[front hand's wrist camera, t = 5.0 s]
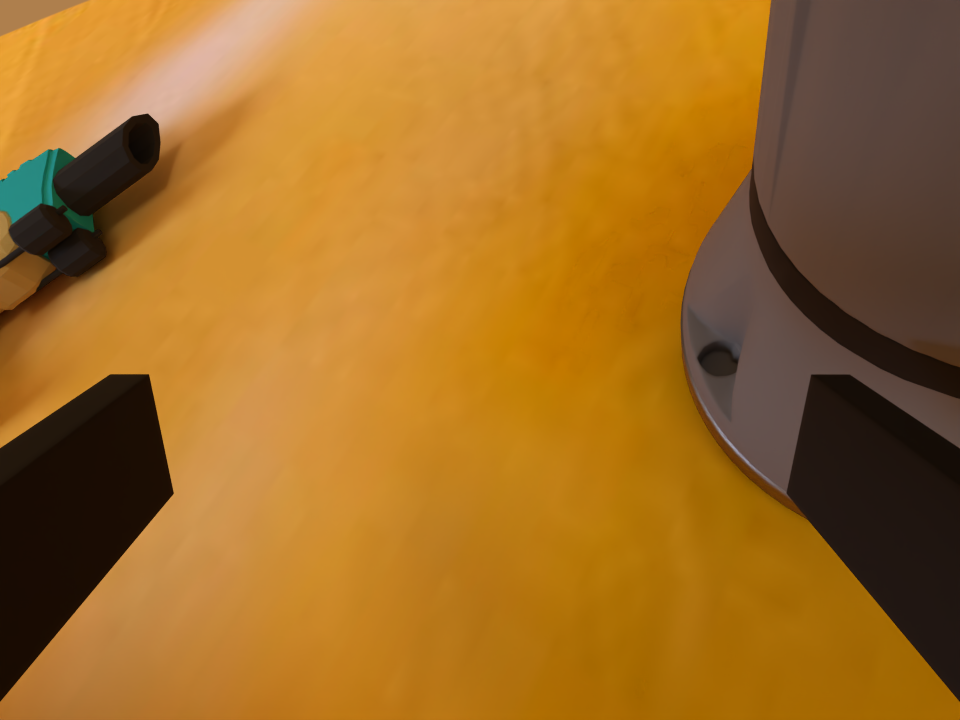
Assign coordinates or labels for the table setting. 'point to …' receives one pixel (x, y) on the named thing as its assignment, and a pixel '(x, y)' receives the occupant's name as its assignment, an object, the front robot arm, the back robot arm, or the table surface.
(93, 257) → the toy gun
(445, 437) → the table surface
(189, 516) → the table surface
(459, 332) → the table surface
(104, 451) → the front robot arm
